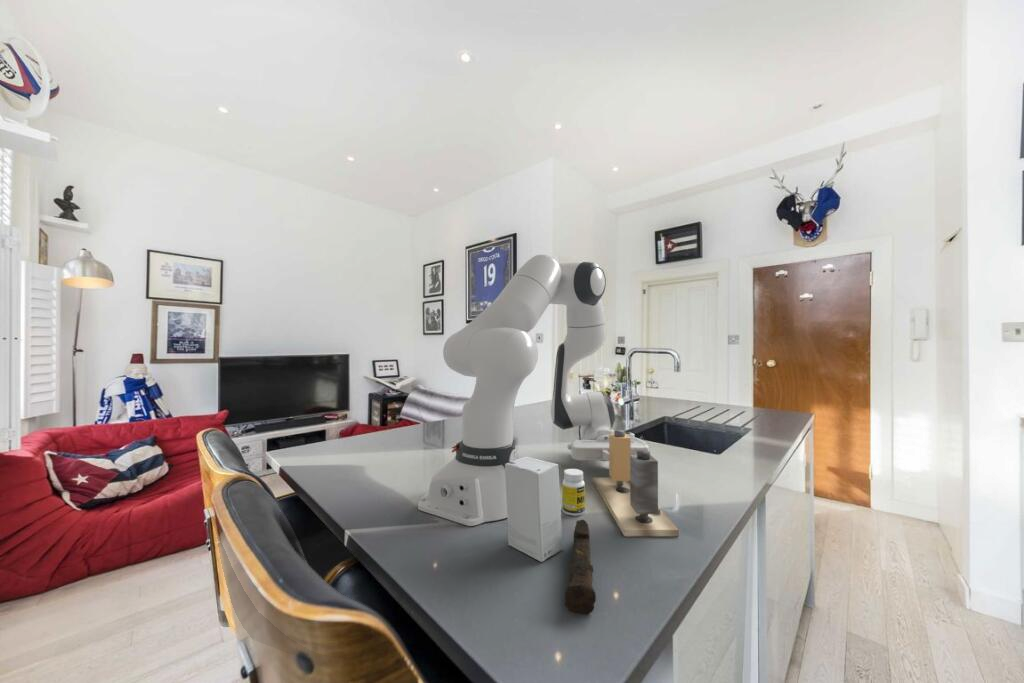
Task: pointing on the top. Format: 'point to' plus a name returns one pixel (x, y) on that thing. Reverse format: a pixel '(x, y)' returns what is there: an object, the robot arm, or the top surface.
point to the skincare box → (533, 507)
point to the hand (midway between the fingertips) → (616, 459)
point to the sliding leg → (619, 456)
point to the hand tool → (580, 573)
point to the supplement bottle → (573, 492)
